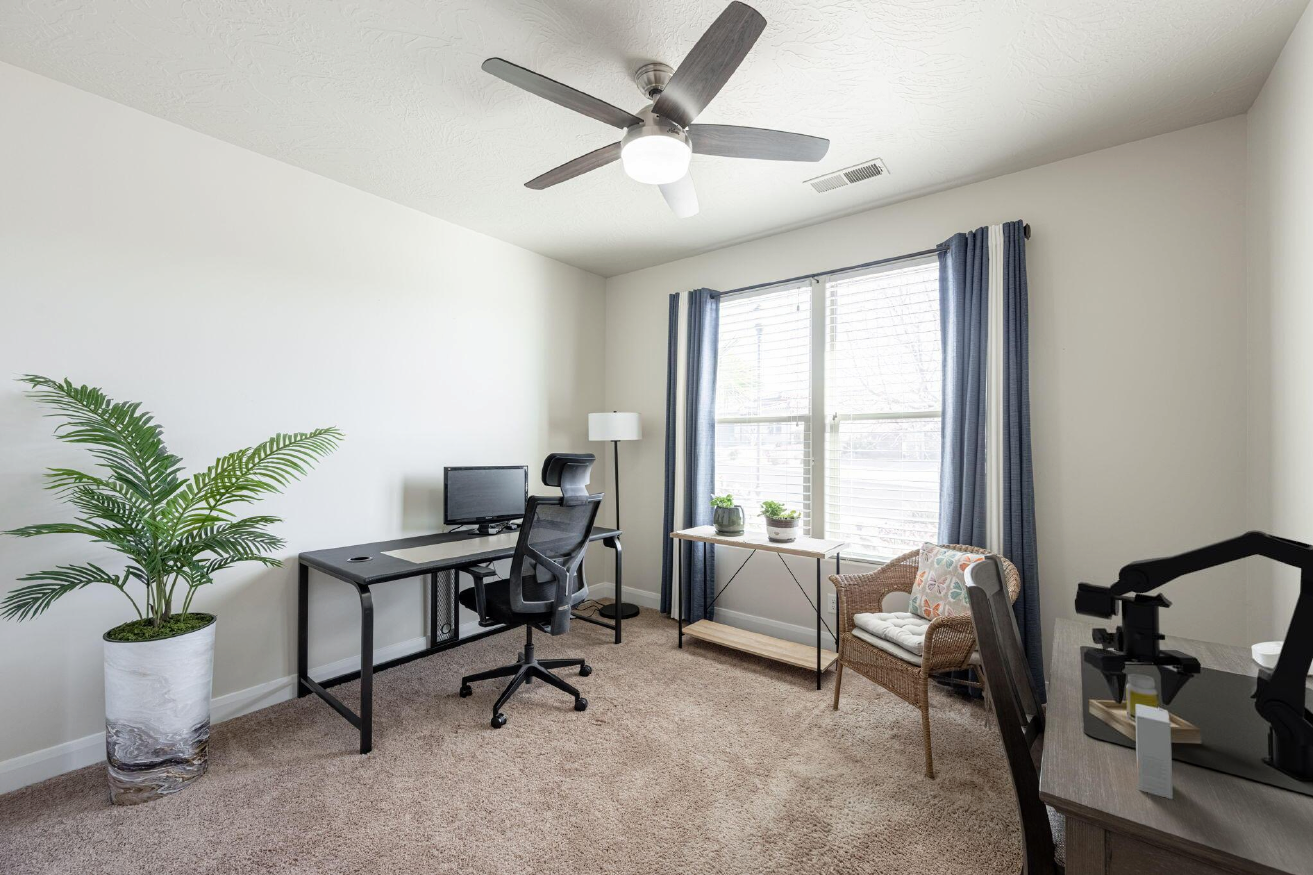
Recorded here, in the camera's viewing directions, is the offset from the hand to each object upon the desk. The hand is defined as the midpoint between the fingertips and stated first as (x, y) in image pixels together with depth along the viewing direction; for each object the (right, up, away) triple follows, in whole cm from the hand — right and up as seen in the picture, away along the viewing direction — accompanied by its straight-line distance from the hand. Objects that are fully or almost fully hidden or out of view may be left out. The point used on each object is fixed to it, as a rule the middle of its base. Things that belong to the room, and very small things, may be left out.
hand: (1141, 703), depth 112 cm
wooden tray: (0, -5, 0) cm, 5 cm away
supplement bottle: (0, -3, 0) cm, 3 cm away
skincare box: (-16, -4, -21) cm, 26 cm away
